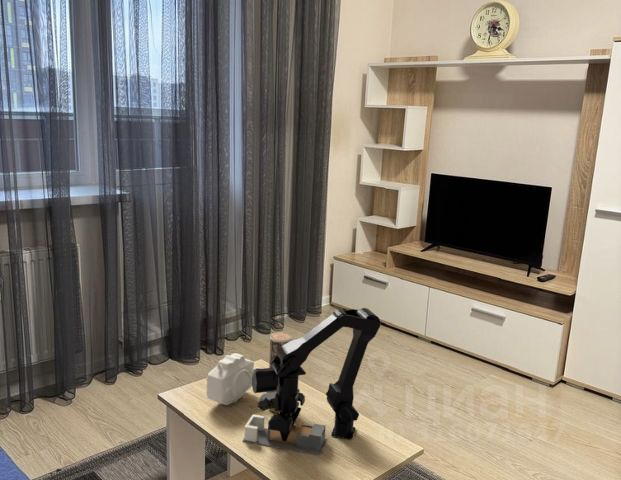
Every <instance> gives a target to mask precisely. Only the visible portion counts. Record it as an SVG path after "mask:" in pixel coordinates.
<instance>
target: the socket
mask: <svg viewBox="0 0 621 480" xmlns="http://www.w3.org/2000/svg"><path fill="white" fill-rule="evenodd" d="M264 428H265V415H258V414H254V413H253V414H252V415H251V416H250V418H249V419H248V421H247V422H246V424H245V426H244V437H243V439H244V440H247V441H253V442H257V440H258V430H260V431H263V430H264Z"/></svg>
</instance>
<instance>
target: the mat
mask: <svg viewBox="0 0 621 480" xmlns="http://www.w3.org/2000/svg"><path fill="white" fill-rule="evenodd" d="M267 431H268V428H266V427H264V430H263V431H260V430H258V440H257V442H253V441H247V440H244V438H243V439H242V443H249V444H254V445H259V446H264V447H270V448H271V447H272V448H276V449H282V450H287V451H293V452H298V453H305V454H310V455H314V456H315V455H316V456H320V457H321V456H322V453H323V450H324V448H325V446H326V443H327V438H325V441H324V444H323V446H322V449H321V452H316V451H310V450H305V449H299V448H297V445H294V444H289V443H283V442H277V441H272V440H267Z"/></svg>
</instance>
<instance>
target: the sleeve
mask: <svg viewBox="0 0 621 480" xmlns="http://www.w3.org/2000/svg"><path fill="white" fill-rule="evenodd" d="M301 426H303V427H309V428H312V429H311V431H310V434H309V435H304V434H297V448H299V449H305V450H310V451H316V452H321V449H322V446H323V444H324V441H325V439H326V425H324V424H319V423H313V424H306V423H302V424H301Z"/></svg>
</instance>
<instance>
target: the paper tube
mask: <svg viewBox="0 0 621 480" xmlns="http://www.w3.org/2000/svg"><path fill="white" fill-rule="evenodd" d="M269 339H270V340H269V364H268V365H269V366H268V368H271V366H270V363H271V362H272V361H273V359H274V358H275V357H276V355H277V354H278V350H279V348H280V347H281V346H283V345H284V344H286V343H288V342H290V341H292V340H293V338H292V335H291V334H290V333H286V332H275V333H272V334H270V337H269ZM279 365H280V367H281V368H282V366H283V365H282V364H281V363H280V364H279ZM278 385H279V377H278ZM271 392H278V387H277V390H275V391H271ZM271 392H268V393H271ZM269 410H270V411H271V412H273V413H276V414H279V413H280V411H274V408H272V409H269Z"/></svg>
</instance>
